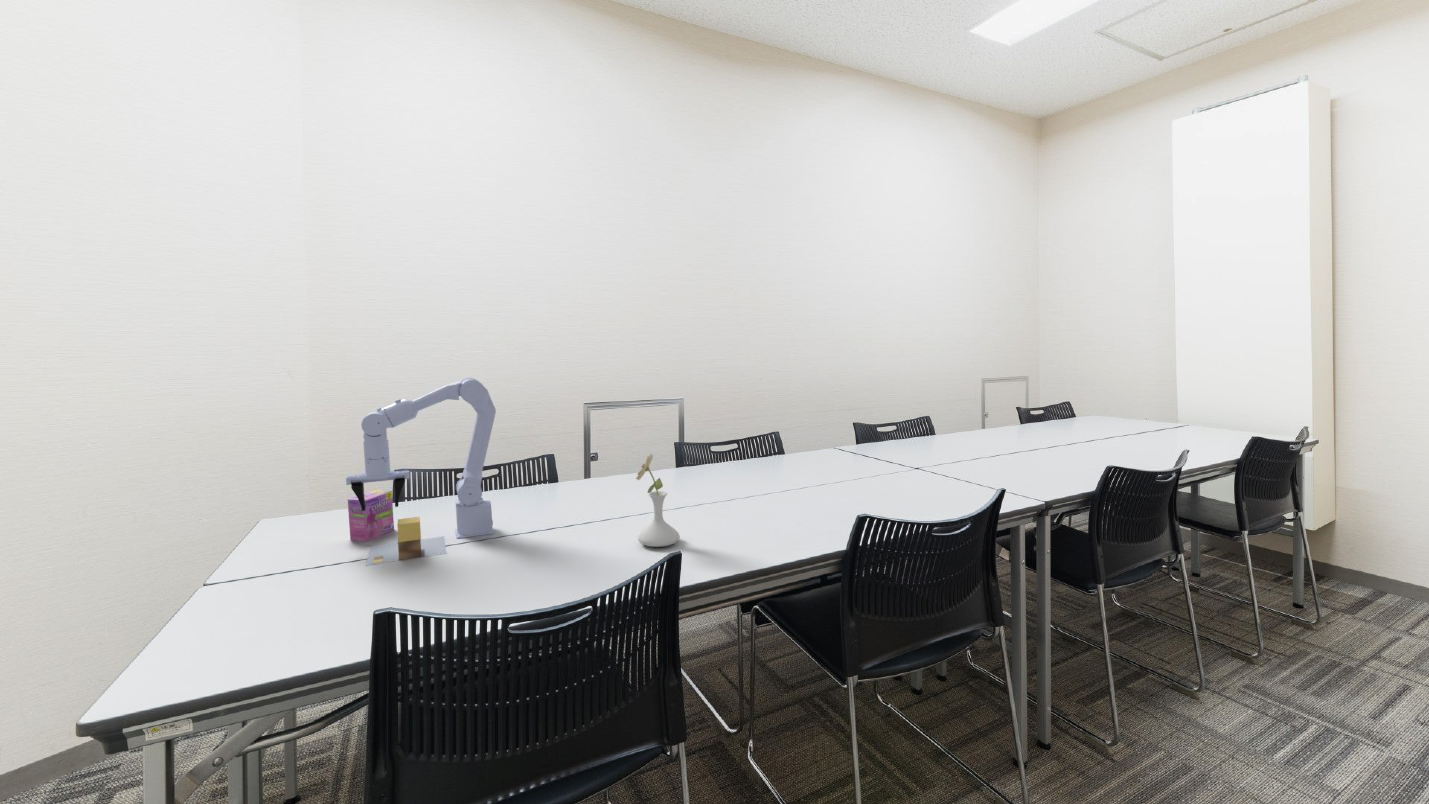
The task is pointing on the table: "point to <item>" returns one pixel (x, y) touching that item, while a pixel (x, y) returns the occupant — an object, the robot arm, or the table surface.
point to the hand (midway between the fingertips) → (380, 507)
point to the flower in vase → (656, 516)
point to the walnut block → (409, 549)
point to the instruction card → (392, 554)
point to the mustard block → (409, 529)
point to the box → (371, 515)
